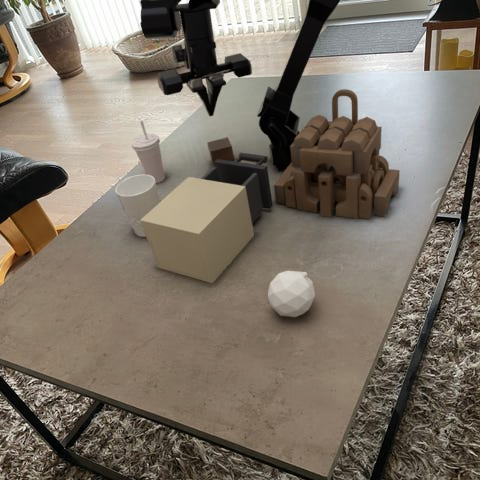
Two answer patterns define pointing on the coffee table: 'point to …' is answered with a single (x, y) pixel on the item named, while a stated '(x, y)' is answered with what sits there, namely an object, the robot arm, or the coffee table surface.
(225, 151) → the block
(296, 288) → the ornament
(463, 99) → the coffee table surface
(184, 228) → the cabinet
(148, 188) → the white cup
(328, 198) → the wooden puzzle
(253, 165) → the drawer
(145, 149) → the smoothie
